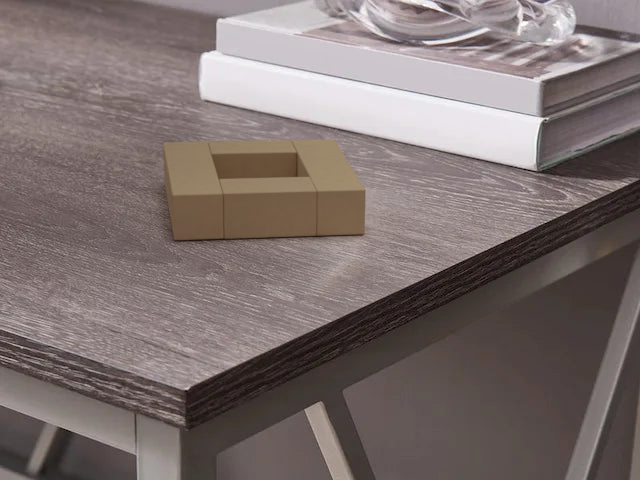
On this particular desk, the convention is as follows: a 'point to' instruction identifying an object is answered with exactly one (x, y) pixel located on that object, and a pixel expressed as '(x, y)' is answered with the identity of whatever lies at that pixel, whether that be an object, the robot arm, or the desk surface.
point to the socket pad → (261, 189)
